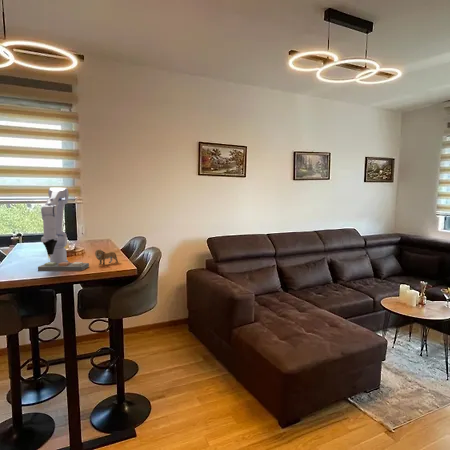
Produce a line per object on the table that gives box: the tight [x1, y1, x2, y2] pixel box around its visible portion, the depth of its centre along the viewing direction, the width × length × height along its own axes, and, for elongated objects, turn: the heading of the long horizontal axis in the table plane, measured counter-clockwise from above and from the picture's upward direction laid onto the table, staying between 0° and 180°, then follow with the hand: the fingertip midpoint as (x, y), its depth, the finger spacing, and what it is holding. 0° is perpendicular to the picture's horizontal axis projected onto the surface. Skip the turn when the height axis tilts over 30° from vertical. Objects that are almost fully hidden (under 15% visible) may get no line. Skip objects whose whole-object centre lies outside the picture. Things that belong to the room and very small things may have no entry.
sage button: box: [44, 261, 56, 266], centre depth 176 cm, size 4×4×3 cm
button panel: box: [37, 262, 90, 272], centre depth 177 cm, size 10×22×2 cm, turn 93°
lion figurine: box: [94, 248, 119, 266], centre depth 190 cm, size 15×5×9 cm, turn 147°
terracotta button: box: [59, 261, 71, 266], centre depth 176 cm, size 4×4×3 cm
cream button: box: [71, 261, 84, 266], centre depth 177 cm, size 4×4×3 cm
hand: (50, 254), depth 176 cm, fingers closed
